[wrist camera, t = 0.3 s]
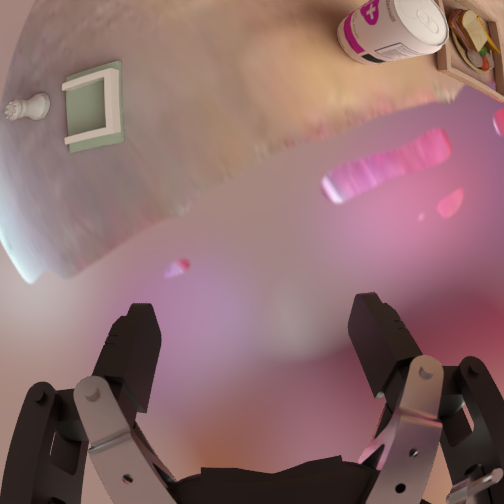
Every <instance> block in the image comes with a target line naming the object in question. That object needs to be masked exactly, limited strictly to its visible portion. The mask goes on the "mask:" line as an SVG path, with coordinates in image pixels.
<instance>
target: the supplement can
mask: <svg viewBox="0 0 504 504" xmlns="http://www.w3.org/2000/svg"><path fill="white" fill-rule="evenodd" d="M337 36H338V40H339V43H340V45H341V47H342V48H343V50H344V51H345V52H346V53H347V54H348V55H349V56H350V57H351V58H352V59H354V60H356V61H358V62H359V63H362V64H366V65H376V64H381V63H385V62H390V61H394V60H399V59H404V58H409V57H414V56H420V55H426V54H432V53H435V52H436V51H438V50H440V49H441V47H442V45H443V44H445V43H446V41H447V39H448V37H449V28H448V24H447V21H446V18H445V16H444V14H443V12H442V11H441V9H440V8H439V7H438V5H437V4H436V3H435V2H434V1H433V0H369V1H368V2H367V3H365V4H364V5H362V6H361V7H359V8H358V9H356V10H355V11H354V12H352V13H351V14H349V15H348V16H347V17H345V18H344V19H343V20H342V21H341V23H340V24H339V25H338V30H337Z"/></svg>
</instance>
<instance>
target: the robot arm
mask: <svg viewBox="0 0 504 504" xmlns="http://www.w3.org/2000/svg"><path fill="white" fill-rule="evenodd" d="M348 333H349V336H350V339H351V341H352V343H353V346H354V348H355V351H356V353H357V355H358V358H359V360H360V363H361V365H362V367H363V370H364V372H365V375H366V377H367V380H368V382H369V385H370V387H371V390H372V393H373V395H374V398H375V399H376V398H379V397H383V396H385V398H386V403H385V404H384V407H383V410H382V412H381V415H380V418H379V420H378V423H377V425H376V428H375V430H374V433H373V435H372V437H371V440H370V442H369V444H368V446H367V447H366V449H365V450H364V452H363V453H362V455H361V457H360V459H359V460H358V462H357V463H354V462H346V461H342V457H341V455H339V456H335V457H330V458H325V459H320V460H314V461H309V462H306V463H303V464H300V465H298V466H295V467H293V468H290V469H287V470H284V471H281V472H278V473H273V474H270V473H263V472H255V471H249V470H244V469H239V468H204V467H201V474H196V475H192V476H189V477H186V478H184V479H181V480H179V481H177V480H176V479H175V478H174V476H173V475H172V473H171V472H170V471H169V470H168V468H167V467H166V466H165V465H164V464H163V462H162V461H161V460H160V459H159V457H158V456H157V454H156V453H155V451H154V450H153V448H152V447H151V445H150V444H149V442H148V440H147V439H146V437H145V436H144V434H143V432H142V431H141V429H140V427H139V426H138V424H137V422H136V421H135V419H136V414H137V412H141V413H147V408H148V403H149V398H150V393H151V388H152V383H153V379H154V374H155V370H156V365H157V361H158V357H159V352H160V348H161V340H162V339H161V331H160V328H159V325H158V322H157V319H156V316H155V312H154V309H153V306H152V305H151V304H150V303H147V304H146V303H143V304H142V303H133V304H132V305H131V307H130V309H129V311H128V314H127V316H121V317H120V318H119V319H118V320H117V321H116V322H115V323H114V324H113V325H112V328H111V330H110V332H109V334H108V335H109V336H108V337H107V339H106V341H105V345H104V346H103V349H102V351H101V353H100V356H99V358H98V361H97V363H96V366H95V368H94V371H93V373H92V376H89V377H86V378H84V379H82V380H81V381H80V382H79V383H78V384H77V385H76V387H75V388H74V389H67V390H59V391H56V390H55V389H54V388H53V387H52V386H51V385H50V384H49V383H47V382H38V383H36V384H34V385H33V386H32V387H31V388H30V389H29V390H28V392H27V395H26V398H25V400H24V403H23V406H22V409H21V411H20V414H19V417H18V420H17V423H16V427H15V430H14V433H13V437H12V440H11V444H10V448H9V452H8V456H7V461H6V465H5V470H4V475H3V480H2V487H1V494H0V504H81V494H82V485H83V476H84V469H85V462H86V456H87V450H88V444H89V441H90V444H91V448H90V449H89V456H90V459H91V461H92V463H93V465H94V467H95V470H96V472H97V474H98V476H99V478H100V480H101V481H102V483H103V485H104V487H105V489H106V491H107V493H108V494H109V496H110V498H111V500H112V501H113V503H114V504H431V503H429V502H427V501H425V500H423V499H422V496H423V493H424V491H425V488H426V485H427V482H428V479H429V476H430V473H431V470H432V467H433V463H434V460H435V456H436V453H437V449H438V445H439V441H440V444H441V447H442V450H443V453H444V457H445V460H446V463H447V467H448V470H449V473H450V477H451V480H452V485H453V486H452V488H451V491H450V493H449V494H448V495H447V497H446V503H447V504H504V400H503V398H502V396H501V394H500V392H499V390H498V388H497V386H496V384H495V382H494V381H493V379H492V377H491V375H490V373H489V371H488V370H487V368H486V366H485V365H484V363H483V362H482V361H481V360H480V359H478V358H476V357H472V356H468V357H465V358H464V359H463V360H462V361H461V363H460V364H459V366H442V365H441V364H440V363H439V362H438V361H437V360H436V359H435V358H433V357H430V356H427V355H423V354H422V352H421V350H420V349H419V347H418V345H417V344H416V342H415V340H414V339H413V337H412V336H411V334H410V332H409V331H408V329H406V326H405V324H404V323H403V321H401V318H400V316H399V315H398V313H397V312H396V310H394V309H393V308H392V307H391V306H389V305H388V304H387V303H382V302H381V300H380V299H379V297H378V295H377V294H376V293H375V292H370V293H361V294H357V295H356V296H355V299H354V302H353V306H352V310H351V314H350V318H349V322H348ZM464 404H466V406H467V408H468V411H469V413H470V415H471V418H472V420H473V422H474V430H473V432H472V430H471V428H470V425H469V423H468V420H467V418H466V415H465V413H464V411H463V408H462V406H463V405H464ZM54 433H55V437H54ZM53 437H54V441H53ZM52 442H53V446H52ZM51 446H52V450H51ZM50 450H51V455H50Z"/></svg>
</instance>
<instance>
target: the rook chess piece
mask: <svg viewBox="0 0 504 504" xmlns="http://www.w3.org/2000/svg"><path fill="white" fill-rule="evenodd" d="M49 107H50V100H49V97H48V96H47V95H46V94H45V93H41V94H36V95H34V96H33V97H31V98H30V99H29V100H22V99H21V100H18V99H13V100H12V101H11V102H9V104H8V105H6V107H5V108H7V111H4V114H7V116H6V117H5V118H6V119H9V120H10V121H14V120H16V119H17V118H21V117H22V116H28V117H29V118H30V119H32V120H40V119H42V118H44V117H45V116H46V114H47V112H48V111H49Z"/></svg>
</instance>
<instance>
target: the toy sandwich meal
mask: <svg viewBox="0 0 504 504" xmlns="http://www.w3.org/2000/svg"><path fill="white" fill-rule="evenodd" d="M448 25H449V27H450V28H451V32H452V37H453V40H454V43H455V45H456V47H457V49H458V51H459V53H460V55H461V56H462V58H463V59H464V60H465V61H466V63H467V64H468V65H469V66H470V67H471V68H472V69H474V70H475V71H477V72H479V73H487V72H488V71H489V70H490V69H492V68H494V61H493V59H492V51H493V52H495V53H498V54H500V51H499V50H498V48H497V47H496V45H495V44H494V43H493V41H492V40H491V38H490V37H489V35H488V34H487V32H486V30H485V28H484V26H483V24H482V22H481V20H480V18H479V16H477V17H476V14H475V12H474V11H473V10H462V9H455V10H453V11H452V12H451V13H450V16H449V19H448Z"/></svg>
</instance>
